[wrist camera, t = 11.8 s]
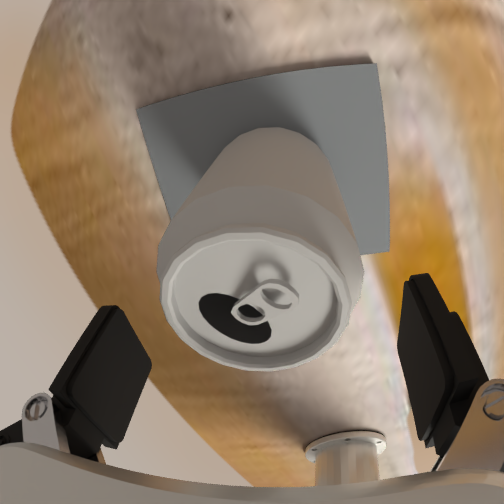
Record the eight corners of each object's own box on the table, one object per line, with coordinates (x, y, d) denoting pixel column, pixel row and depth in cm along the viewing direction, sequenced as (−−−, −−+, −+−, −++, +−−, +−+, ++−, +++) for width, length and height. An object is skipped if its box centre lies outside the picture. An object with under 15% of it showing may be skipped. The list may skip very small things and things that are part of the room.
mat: (387, 247, 22) (389, 251, 22) (193, 270, 25) (191, 275, 25) (373, 63, 16) (376, 63, 15) (140, 108, 19) (136, 109, 18)
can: (192, 185, 21) (106, 311, 11) (268, 98, 17) (233, 148, 7) (277, 253, 23) (261, 404, 13) (356, 181, 19) (416, 317, 9)
